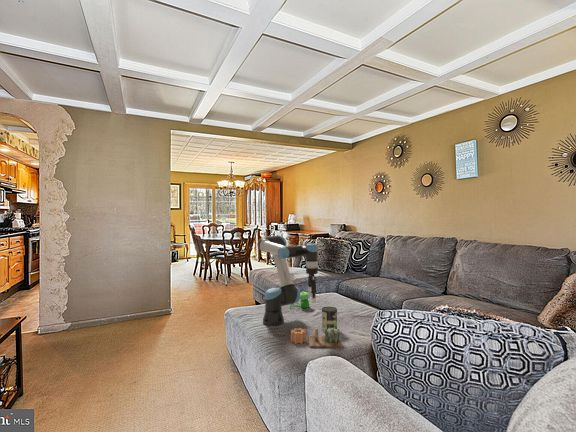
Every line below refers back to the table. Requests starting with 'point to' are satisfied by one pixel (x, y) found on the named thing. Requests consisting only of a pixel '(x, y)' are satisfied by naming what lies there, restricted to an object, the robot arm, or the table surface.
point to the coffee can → (329, 318)
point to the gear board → (326, 339)
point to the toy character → (303, 300)
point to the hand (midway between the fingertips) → (312, 299)
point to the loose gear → (298, 335)
